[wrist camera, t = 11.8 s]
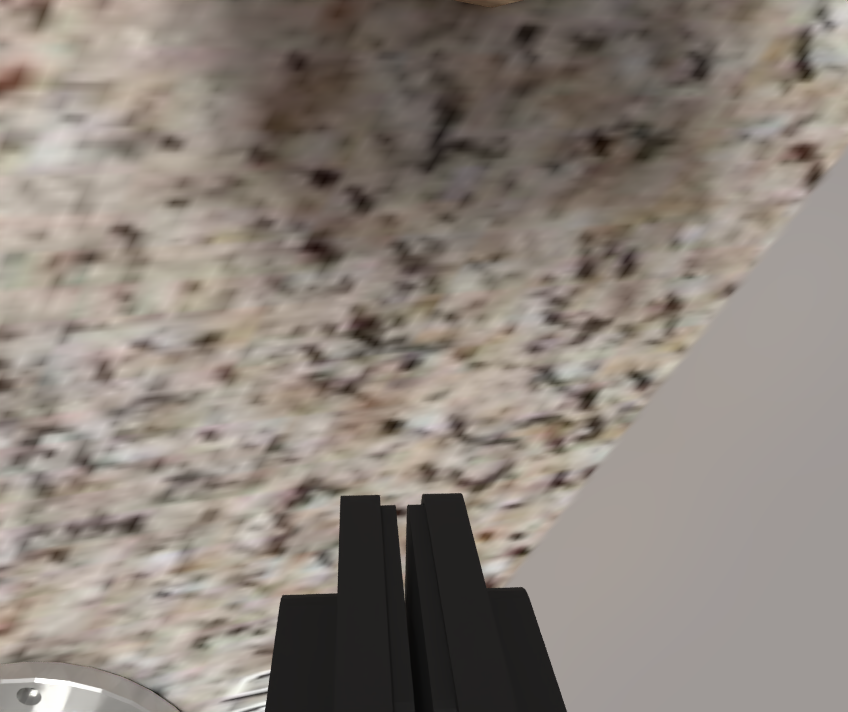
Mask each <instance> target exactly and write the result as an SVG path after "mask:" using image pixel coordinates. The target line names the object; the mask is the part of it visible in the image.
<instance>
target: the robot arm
mask: <svg viewBox="0 0 848 712" xmlns="http://www.w3.org/2000/svg"><path fill="white" fill-rule="evenodd" d="M0 712H180V711H179V710H178V709H177V708H175V707H174V706H173V705H171V704H170V703H168V702H167V701H166V700H164V699H163V698H161V697H160V696H158V695H157V694H156V693H154V692H153V691H151V690H149V689H147V688H145V687H143V686H141V685H139V684H137V683H135V682H133V681H131V680H128V679H126V678H124V677H121V676H118V675H115V674H112V673H109V672H105V671H102V670H99V669H96V668H92V667H86V666H80V665H74V664H68V663H62V662H31V661H27V662H18V663H9V664H1V665H0ZM265 712H567V711H566V708H565V704H564V701H563V699H562V695H561V692H560V689H559V686H558V683H557V680H556V677H555V674H554V672H553V668H552V665H551V662H550V659H549V656H548V653H547V650H546V647H545V644H544V641H543V638H542V635H541V633H540V629H539V626H538V623H537V620H536V617H535V614H534V611H533V608H532V605H531V602H530V599H529V596H528V594H527V592H526V590H525V589H524V588H522V587H519V588H518V587H515V588H486V585H485V581H484V577H483V573H482V569H481V565H480V561H479V557H478V553H477V549H476V545H475V541H474V538H473V534H472V530H471V526H470V522H469V518H468V514H467V510H466V506H465V502H464V498H463V495H462V494H461V493H451V494H423V495H422V501H421V505H408V506H407V528H406V575H405V600H404V589H403V579H402V568H401V558H400V547H399V536H398V526H397V515H396V506H395V505H384V506H380V495H361V496H341V500H340V531H339V562H338V593H336V594H306V595H283V596H282V598H281V602H280V607H279V614H278V622H277V629H276V636H275V643H274V650H273V658H272V665H271V672H270V679H269V686H268V694H267V701H266V708H265Z"/></svg>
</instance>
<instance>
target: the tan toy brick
mask: <svg viewBox="0 0 848 712" xmlns="http://www.w3.org/2000/svg"><path fill="white" fill-rule="evenodd" d="M455 1H460V2H465V3H470V4H475V5H480V6H485V7H490V8H493V7H497V6H501V5H505V4H509V3H514V2H518V1H522V0H455Z"/></svg>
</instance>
